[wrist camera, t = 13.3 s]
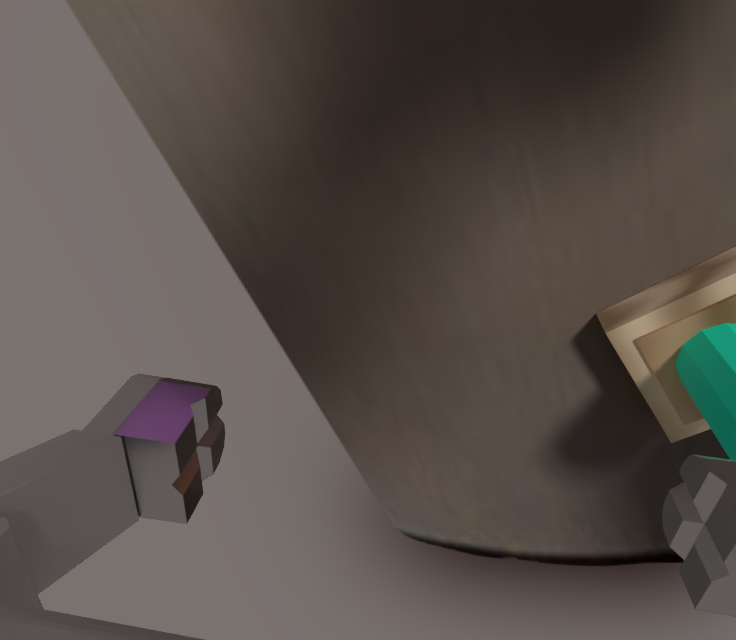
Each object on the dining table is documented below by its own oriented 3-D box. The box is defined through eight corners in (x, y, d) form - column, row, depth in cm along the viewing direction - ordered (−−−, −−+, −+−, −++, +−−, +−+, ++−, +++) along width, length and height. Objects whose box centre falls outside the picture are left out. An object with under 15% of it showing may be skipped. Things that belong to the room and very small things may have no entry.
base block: (763, 232, 37) (789, 250, 34) (818, 357, 41) (845, 383, 38) (595, 313, 41) (606, 335, 39) (658, 418, 45) (672, 445, 42)
